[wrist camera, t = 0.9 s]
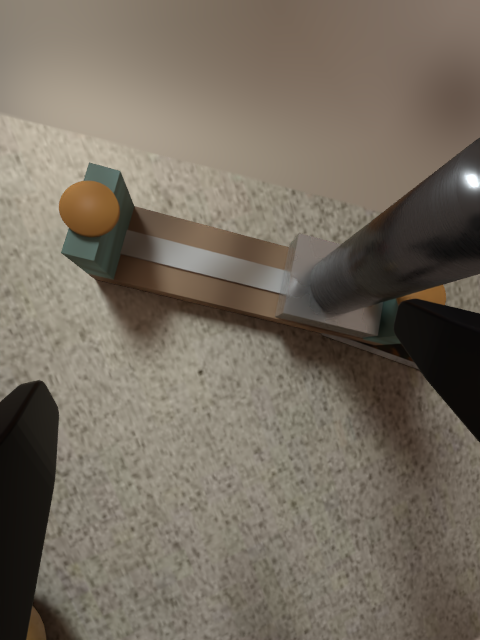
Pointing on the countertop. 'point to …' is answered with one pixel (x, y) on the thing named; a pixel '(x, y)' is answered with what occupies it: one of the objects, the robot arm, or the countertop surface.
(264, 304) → the rail
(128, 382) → the countertop surface
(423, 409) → the countertop surface
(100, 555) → the countertop surface
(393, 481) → the countertop surface
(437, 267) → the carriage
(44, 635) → the onion
